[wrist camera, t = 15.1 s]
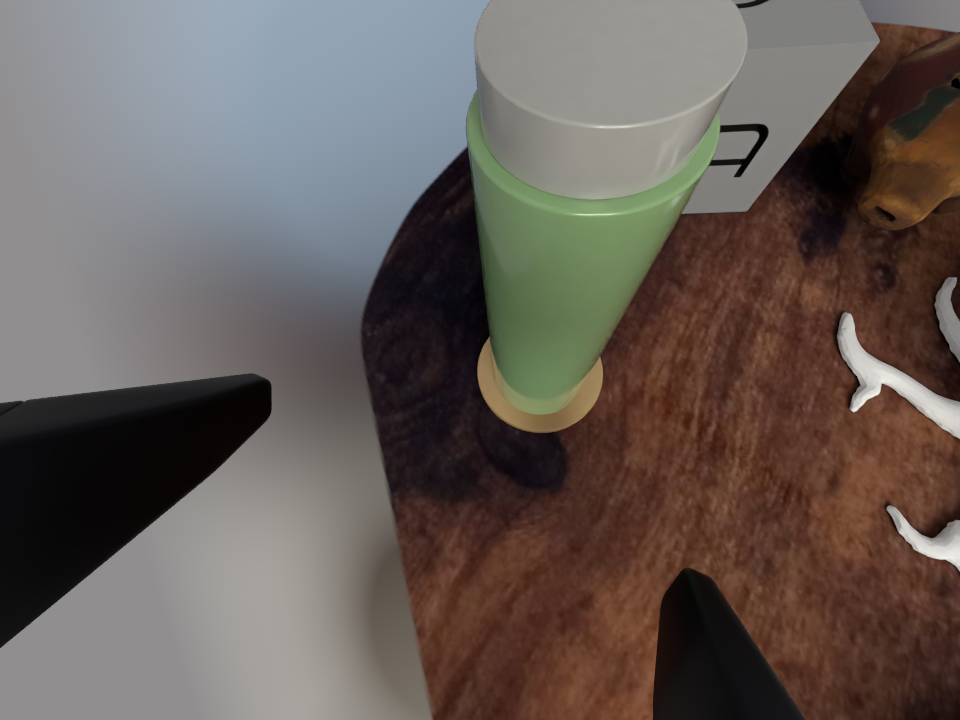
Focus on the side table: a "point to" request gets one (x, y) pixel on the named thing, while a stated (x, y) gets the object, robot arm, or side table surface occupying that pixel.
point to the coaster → (533, 421)
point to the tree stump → (953, 416)
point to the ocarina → (911, 139)
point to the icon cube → (780, 92)
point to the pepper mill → (585, 167)
